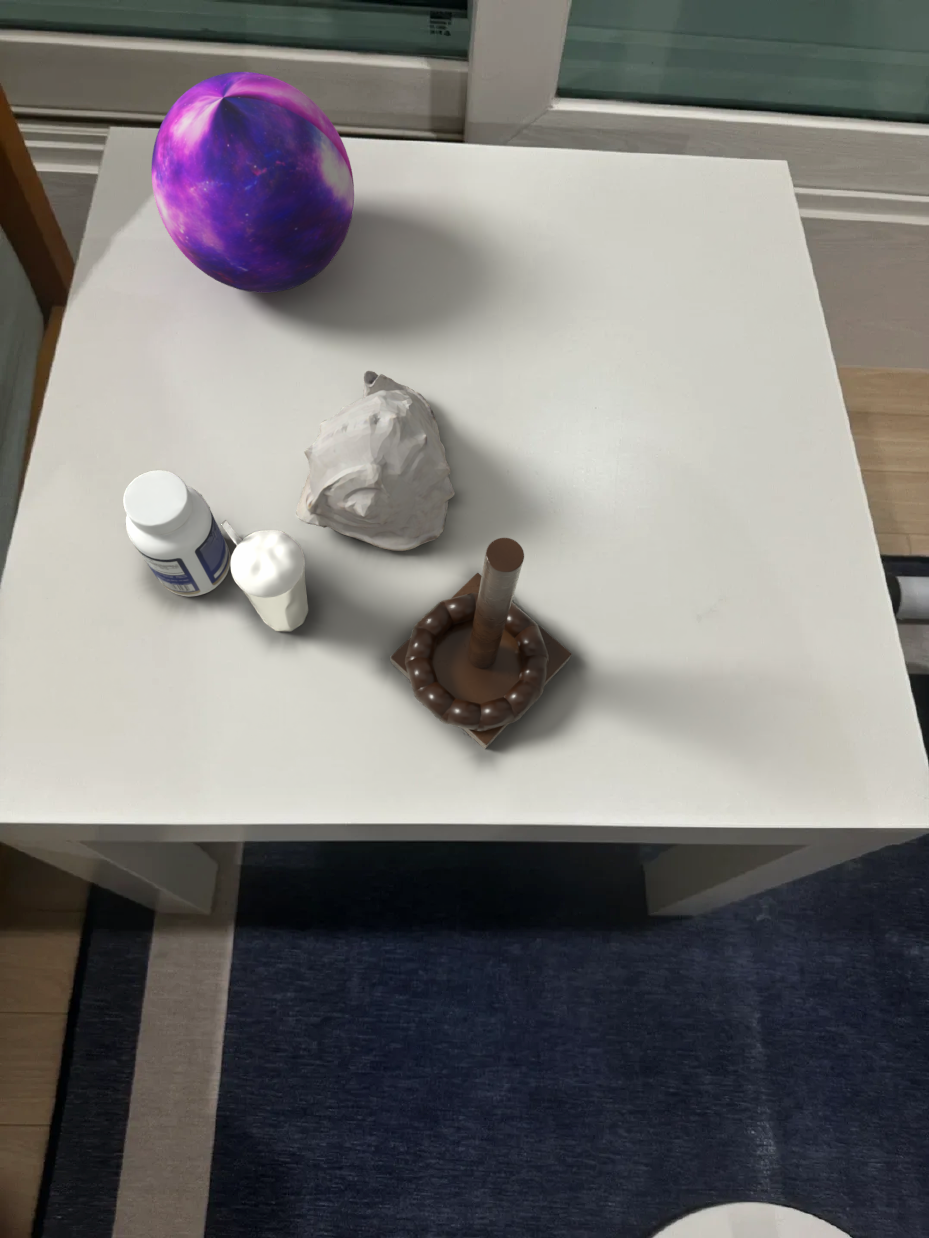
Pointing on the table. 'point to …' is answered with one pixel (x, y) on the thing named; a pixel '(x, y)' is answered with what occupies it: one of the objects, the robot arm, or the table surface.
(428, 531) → the seashell
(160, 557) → the pill bottle
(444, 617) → the ring
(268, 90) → the decorative orb
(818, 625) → the table surface
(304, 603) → the milkshake
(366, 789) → the table surface
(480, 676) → the stand
